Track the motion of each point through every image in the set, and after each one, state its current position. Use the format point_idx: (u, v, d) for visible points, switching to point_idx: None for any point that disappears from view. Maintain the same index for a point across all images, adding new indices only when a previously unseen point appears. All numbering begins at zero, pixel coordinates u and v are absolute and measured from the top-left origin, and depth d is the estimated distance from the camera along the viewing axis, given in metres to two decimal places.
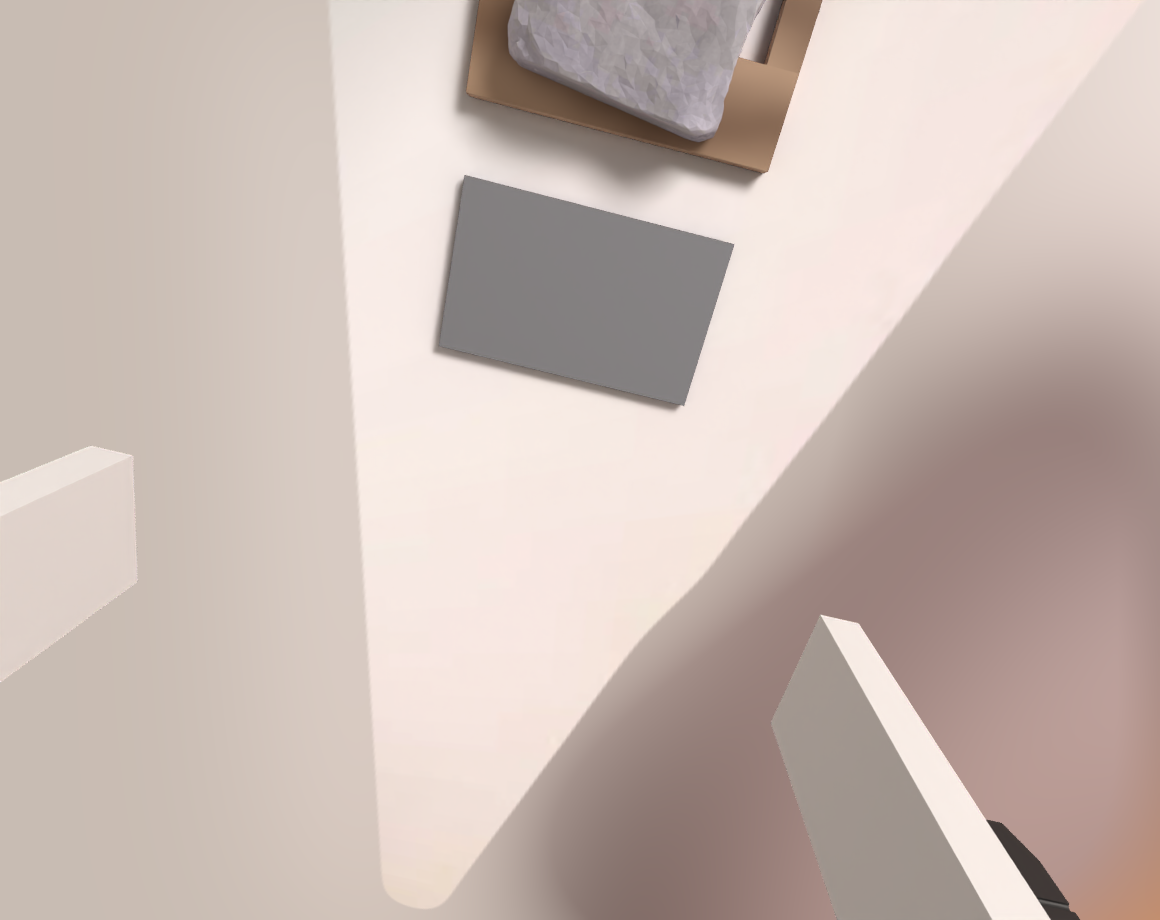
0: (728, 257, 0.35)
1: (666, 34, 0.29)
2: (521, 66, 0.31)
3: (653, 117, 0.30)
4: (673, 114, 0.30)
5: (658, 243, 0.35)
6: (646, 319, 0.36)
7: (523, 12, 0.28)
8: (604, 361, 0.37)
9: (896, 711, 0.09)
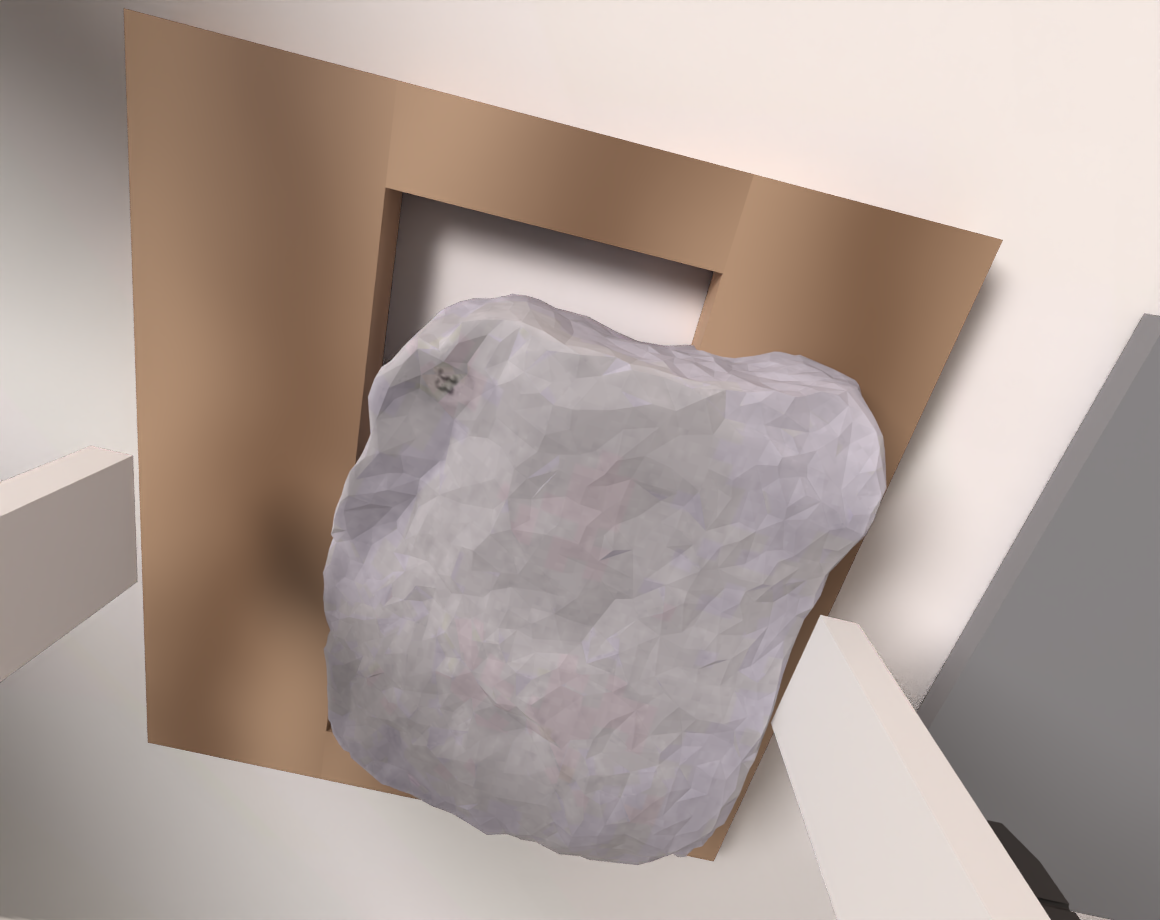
0: None
1: (645, 575, 0.11)
2: None
3: None
4: (839, 539, 0.10)
5: (1097, 520, 0.13)
6: None
7: (625, 859, 0.13)
8: None
9: (896, 711, 0.09)
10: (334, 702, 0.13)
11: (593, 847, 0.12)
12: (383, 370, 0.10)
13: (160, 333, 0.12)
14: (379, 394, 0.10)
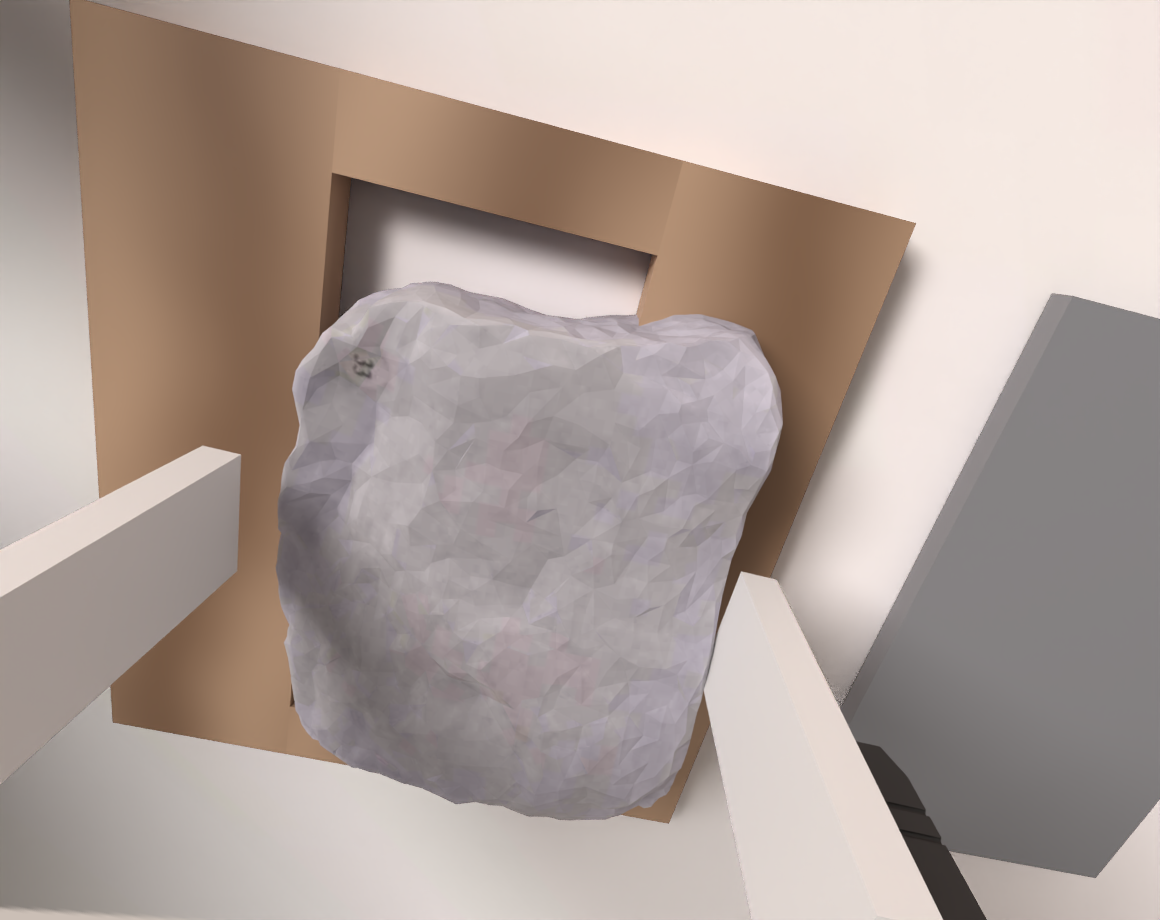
0: (1103, 309, 0.13)
1: (571, 531, 0.11)
2: None
3: None
4: (746, 477, 0.11)
5: (1015, 488, 0.14)
6: None
7: (592, 814, 0.13)
8: None
9: (792, 650, 0.10)
10: (299, 693, 0.14)
11: (557, 804, 0.13)
12: (303, 361, 0.11)
13: (114, 315, 0.12)
14: (302, 385, 0.11)
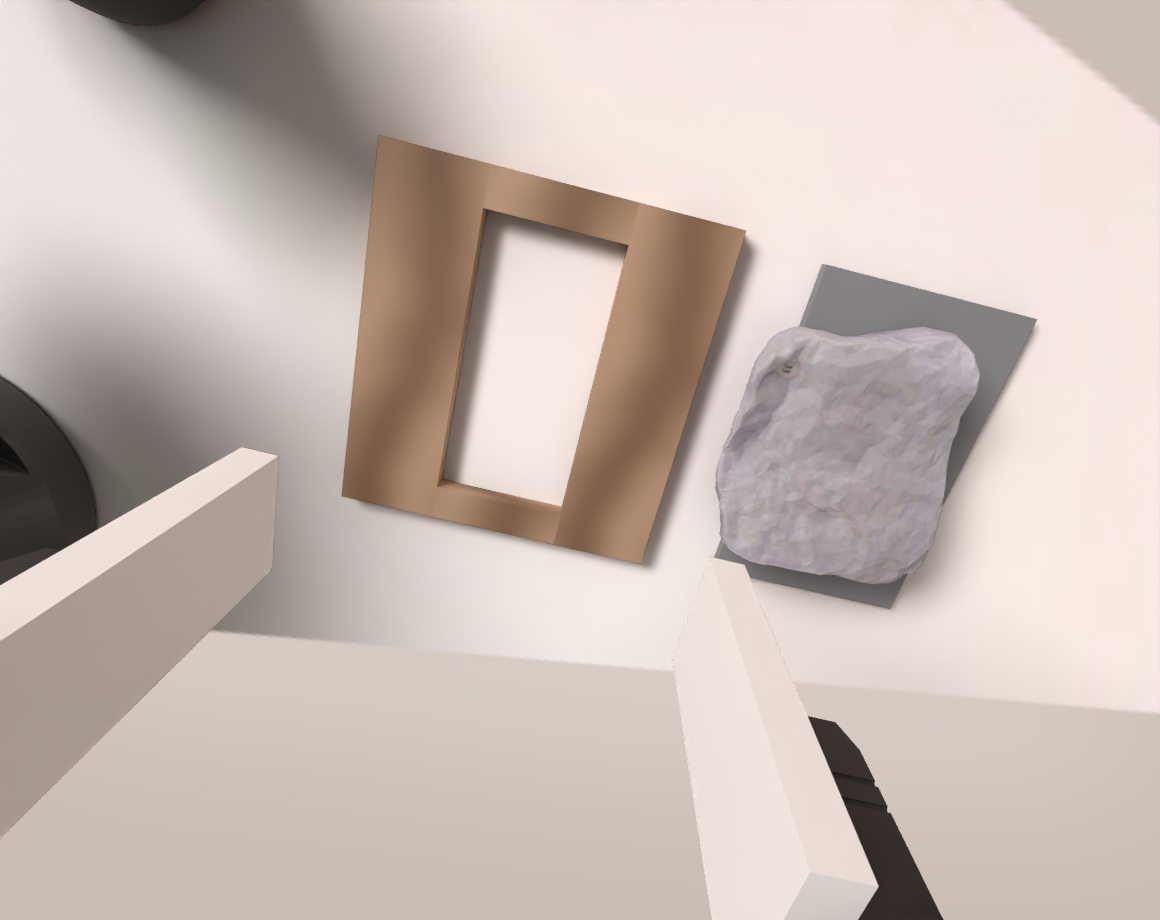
0: (842, 271, 0.26)
1: (881, 432, 0.25)
2: None
3: None
4: (963, 399, 0.25)
5: None
6: None
7: (886, 576, 0.27)
8: None
9: (753, 630, 0.10)
10: (729, 532, 0.28)
11: (873, 568, 0.27)
12: (760, 368, 0.25)
13: (376, 273, 0.27)
14: (758, 379, 0.25)
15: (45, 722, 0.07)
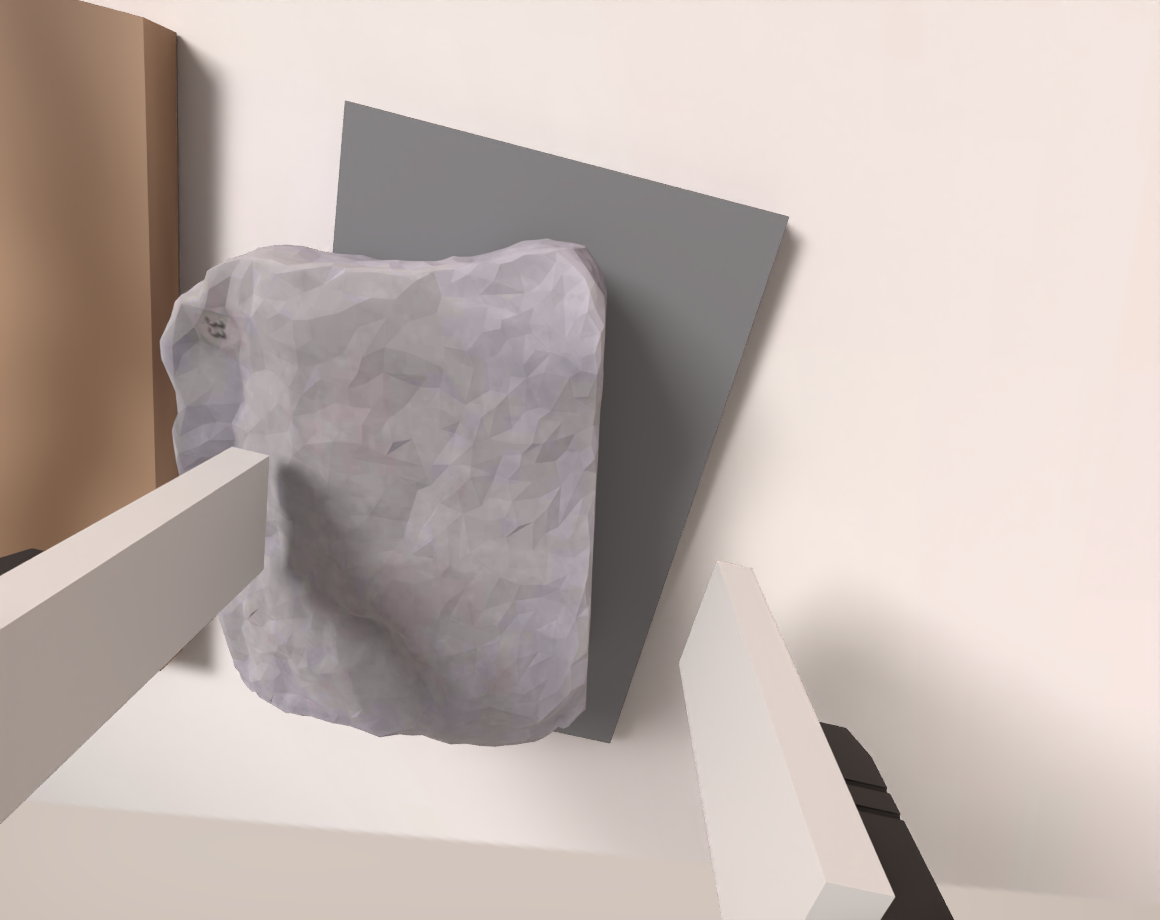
0: (379, 114, 0.13)
1: (430, 459, 0.12)
2: None
3: (599, 421, 0.12)
4: (581, 384, 0.11)
5: None
6: None
7: (510, 737, 0.14)
8: (652, 433, 0.15)
9: (762, 635, 0.10)
10: (234, 650, 0.15)
11: (469, 727, 0.13)
12: (164, 331, 0.12)
13: None
14: (168, 353, 0.12)
15: (28, 724, 0.07)
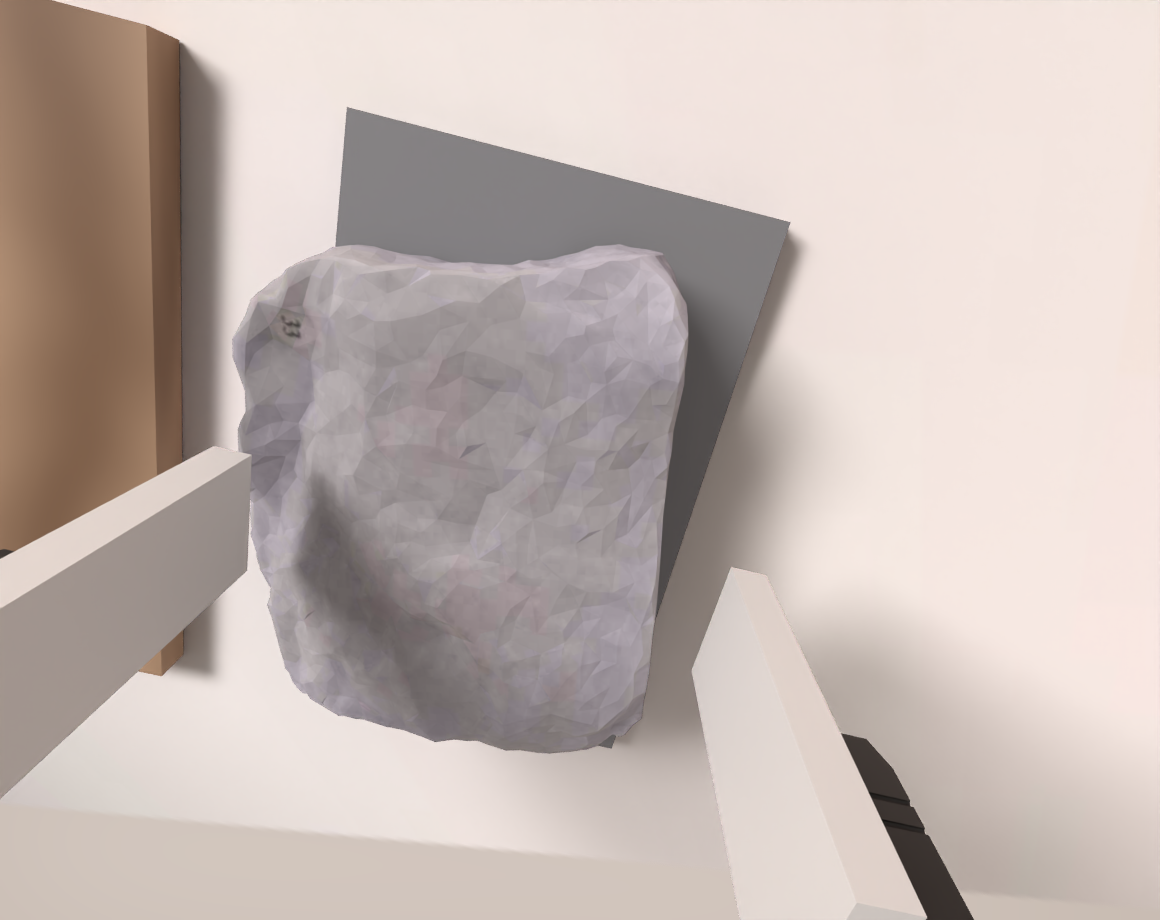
0: (381, 121, 0.13)
1: (503, 463, 0.12)
2: None
3: (672, 429, 0.12)
4: (661, 392, 0.11)
5: None
6: None
7: (566, 744, 0.14)
8: None
9: (780, 644, 0.10)
10: (286, 651, 0.15)
11: (528, 733, 0.13)
12: None
13: None
14: (240, 351, 0.12)
15: None
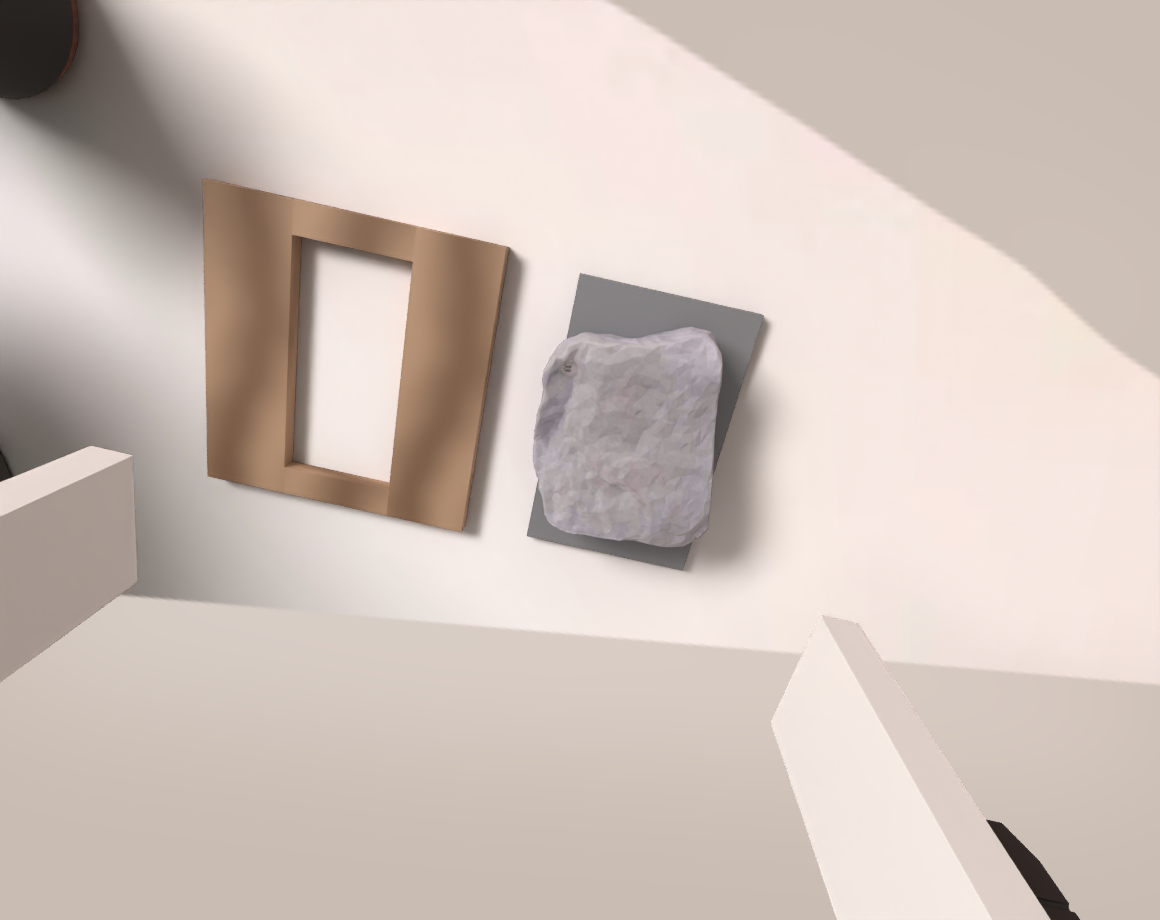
0: (593, 279, 0.31)
1: (650, 417, 0.30)
2: None
3: (717, 401, 0.30)
4: (712, 386, 0.29)
5: None
6: None
7: (675, 540, 0.32)
8: None
9: (896, 711, 0.09)
10: (547, 508, 0.33)
11: (660, 532, 0.32)
12: (546, 369, 0.30)
13: (214, 289, 0.32)
14: (546, 378, 0.31)
15: None
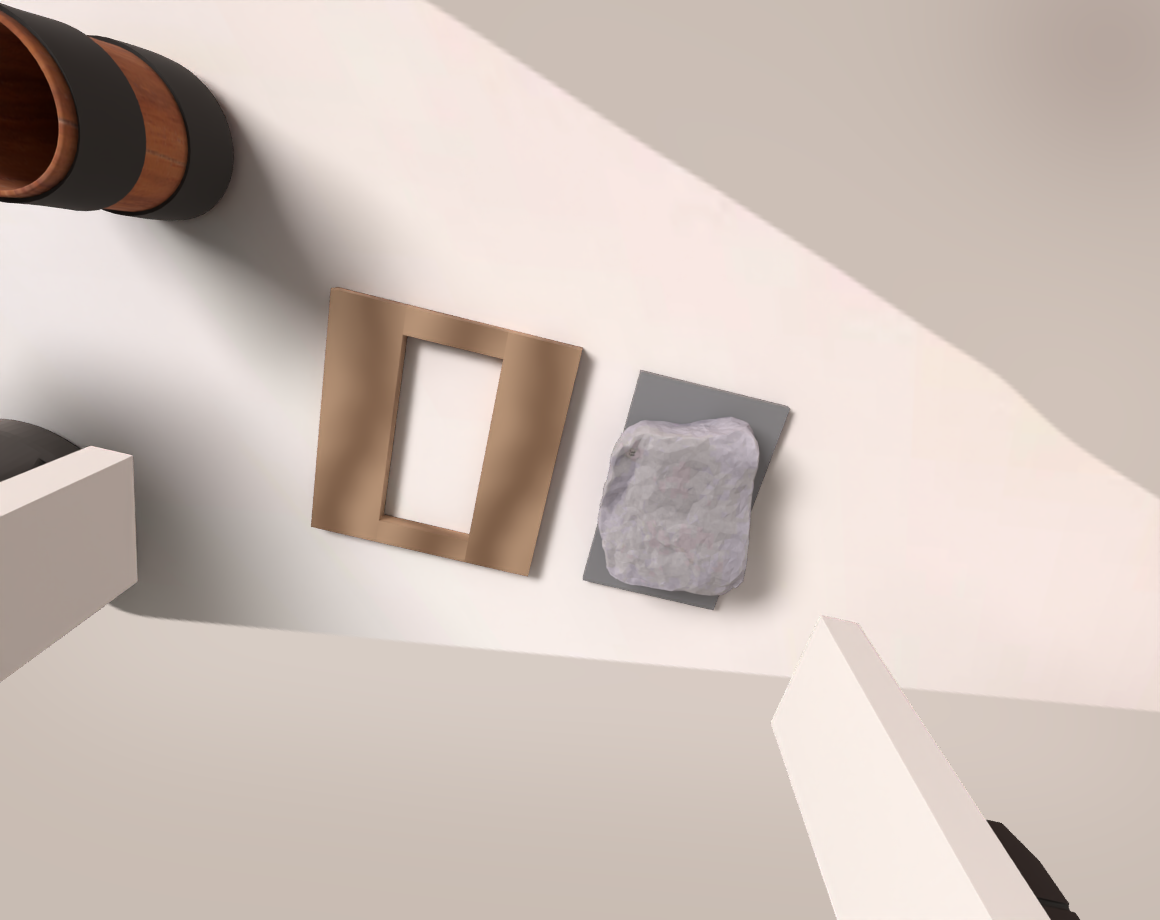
0: (652, 376, 0.38)
1: (699, 493, 0.37)
2: None
3: (753, 479, 0.37)
4: (751, 469, 0.36)
5: None
6: None
7: (717, 590, 0.39)
8: None
9: (896, 711, 0.09)
10: (609, 563, 0.40)
11: (705, 585, 0.39)
12: (614, 453, 0.37)
13: (331, 376, 0.39)
14: (613, 460, 0.37)
15: None
